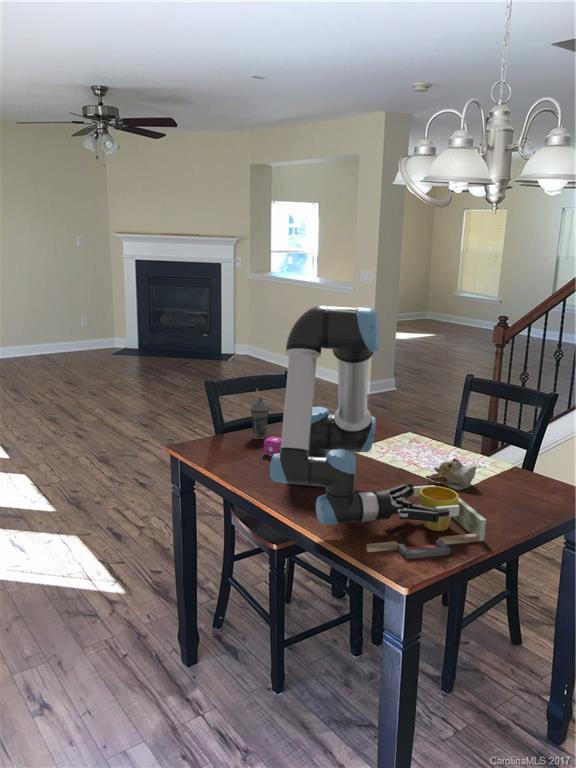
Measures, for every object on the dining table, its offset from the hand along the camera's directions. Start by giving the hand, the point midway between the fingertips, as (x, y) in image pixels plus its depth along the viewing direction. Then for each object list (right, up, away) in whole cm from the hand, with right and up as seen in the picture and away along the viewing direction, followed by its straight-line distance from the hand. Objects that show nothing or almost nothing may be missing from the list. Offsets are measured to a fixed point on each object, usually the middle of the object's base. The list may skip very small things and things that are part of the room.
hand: (446, 499), depth 170 cm
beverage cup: (-55, +11, +72) cm, 91 cm away
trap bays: (-12, -8, -1) cm, 14 cm away
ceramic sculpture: (+10, -1, +32) cm, 34 cm away
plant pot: (-3, -8, +1) cm, 8 cm away
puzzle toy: (-48, +6, +54) cm, 73 cm away
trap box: (-10, -8, -1) cm, 13 cm away
